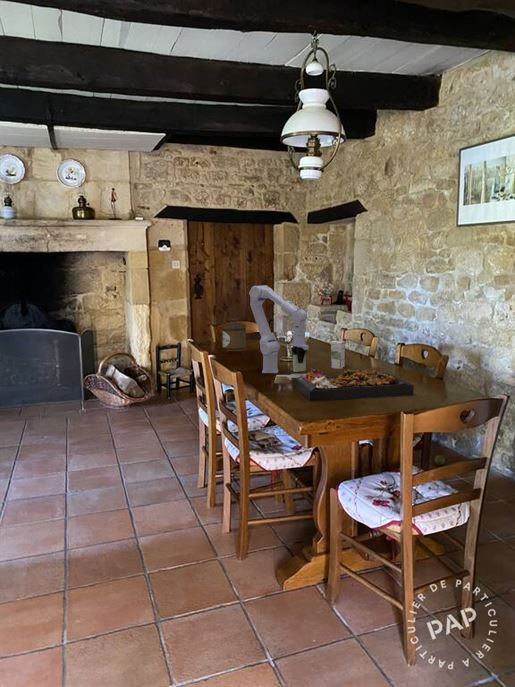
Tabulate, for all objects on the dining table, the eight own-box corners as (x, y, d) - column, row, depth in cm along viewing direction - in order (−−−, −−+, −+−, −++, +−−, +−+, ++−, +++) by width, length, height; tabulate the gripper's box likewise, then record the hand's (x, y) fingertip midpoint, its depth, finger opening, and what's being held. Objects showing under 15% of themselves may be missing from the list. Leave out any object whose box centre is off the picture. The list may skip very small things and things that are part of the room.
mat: (291, 374, 249) (291, 373, 249) (306, 374, 248) (306, 373, 248) (291, 377, 242) (291, 377, 241) (307, 378, 241) (307, 377, 241)
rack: (275, 377, 242) (275, 374, 242) (291, 378, 241) (291, 374, 241) (275, 380, 237) (275, 377, 237) (291, 380, 236) (291, 377, 236)
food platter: (309, 401, 201) (309, 376, 200) (294, 387, 225) (294, 364, 224) (413, 395, 210) (414, 371, 208) (387, 382, 233) (388, 360, 232)
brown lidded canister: (221, 351, 319) (220, 317, 315) (244, 350, 321) (244, 316, 318) (224, 355, 304) (223, 319, 301) (248, 354, 307) (247, 319, 303)
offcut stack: (274, 382, 233) (274, 375, 233) (289, 382, 233) (289, 375, 233) (274, 383, 231) (274, 376, 230) (289, 383, 231) (289, 376, 230)
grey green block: (292, 371, 244) (292, 354, 243) (303, 369, 247) (303, 353, 245) (294, 371, 242) (294, 355, 241) (305, 370, 245) (305, 354, 244)
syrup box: (344, 367, 265) (345, 340, 263) (340, 369, 260) (341, 342, 258) (334, 366, 268) (335, 339, 266) (330, 368, 263) (330, 341, 260)
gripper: (284, 333, 247) (284, 360, 249) (299, 337, 234) (299, 365, 236) (297, 332, 250) (297, 359, 252) (312, 336, 237) (312, 364, 239)
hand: (299, 362), depth 244 cm, fingers closed on grey green block, 2 cm apart
